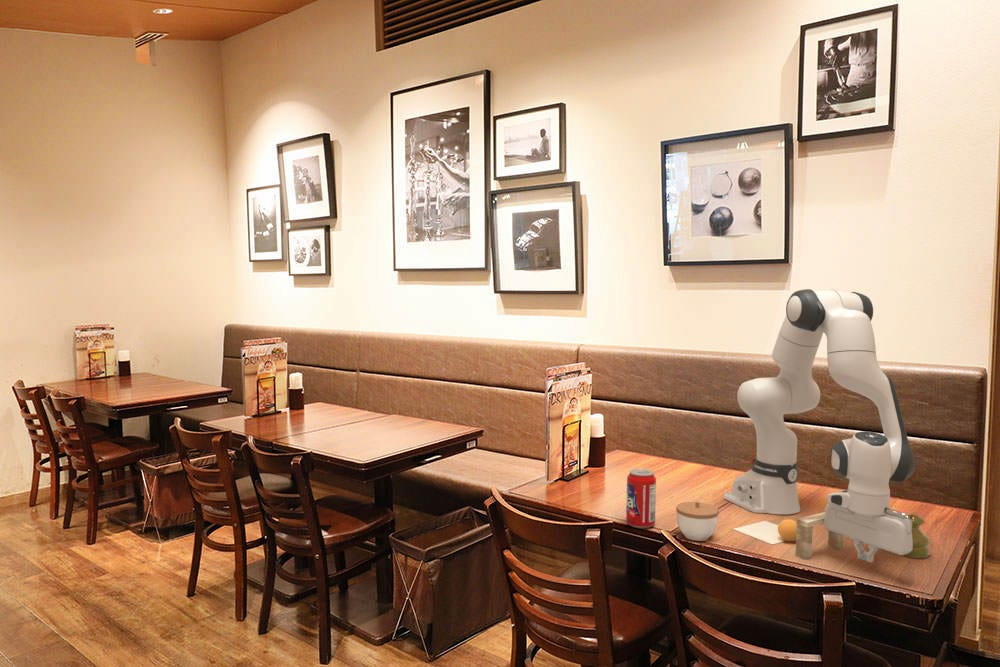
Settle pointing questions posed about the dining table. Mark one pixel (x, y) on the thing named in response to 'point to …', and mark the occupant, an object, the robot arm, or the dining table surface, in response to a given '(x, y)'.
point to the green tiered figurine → (918, 539)
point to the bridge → (806, 533)
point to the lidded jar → (697, 520)
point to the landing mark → (762, 532)
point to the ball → (788, 530)
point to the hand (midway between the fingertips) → (865, 560)
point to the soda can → (641, 498)
